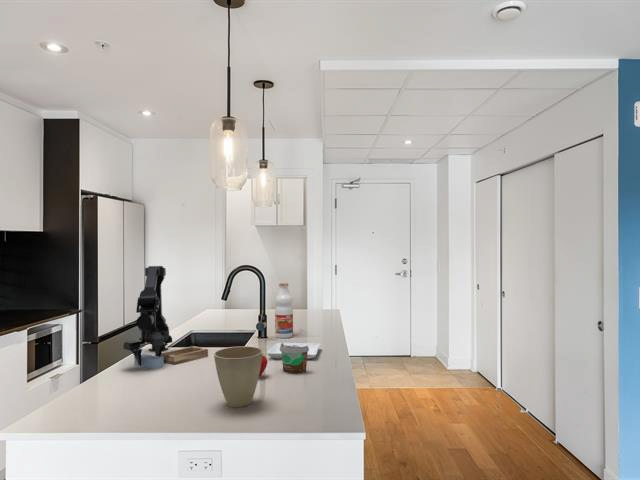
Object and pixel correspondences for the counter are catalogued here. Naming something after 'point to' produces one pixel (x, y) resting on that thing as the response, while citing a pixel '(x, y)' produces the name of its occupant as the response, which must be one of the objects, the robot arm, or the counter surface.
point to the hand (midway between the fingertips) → (148, 363)
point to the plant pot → (238, 373)
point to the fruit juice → (283, 313)
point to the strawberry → (263, 364)
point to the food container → (294, 358)
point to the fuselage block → (150, 361)
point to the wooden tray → (184, 355)
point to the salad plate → (277, 353)
